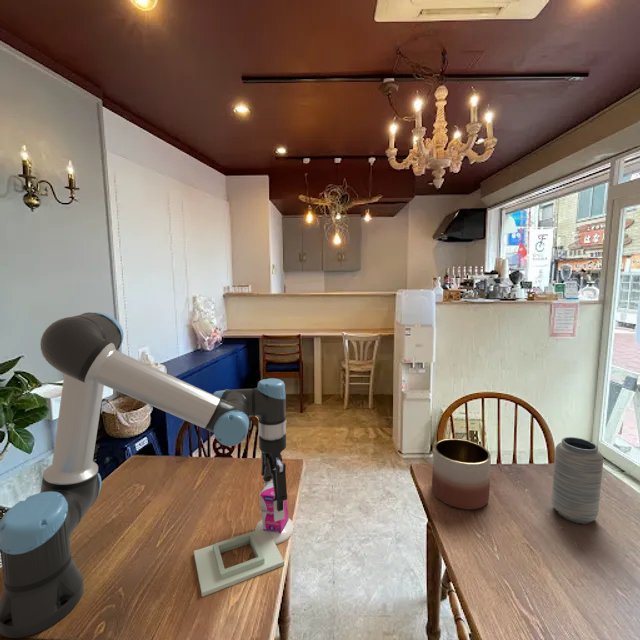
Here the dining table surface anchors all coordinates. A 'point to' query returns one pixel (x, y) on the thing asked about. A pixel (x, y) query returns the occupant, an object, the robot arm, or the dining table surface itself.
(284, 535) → the white egg-shaped stone
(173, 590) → the dining table surface
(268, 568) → the header board
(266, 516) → the supplement box
